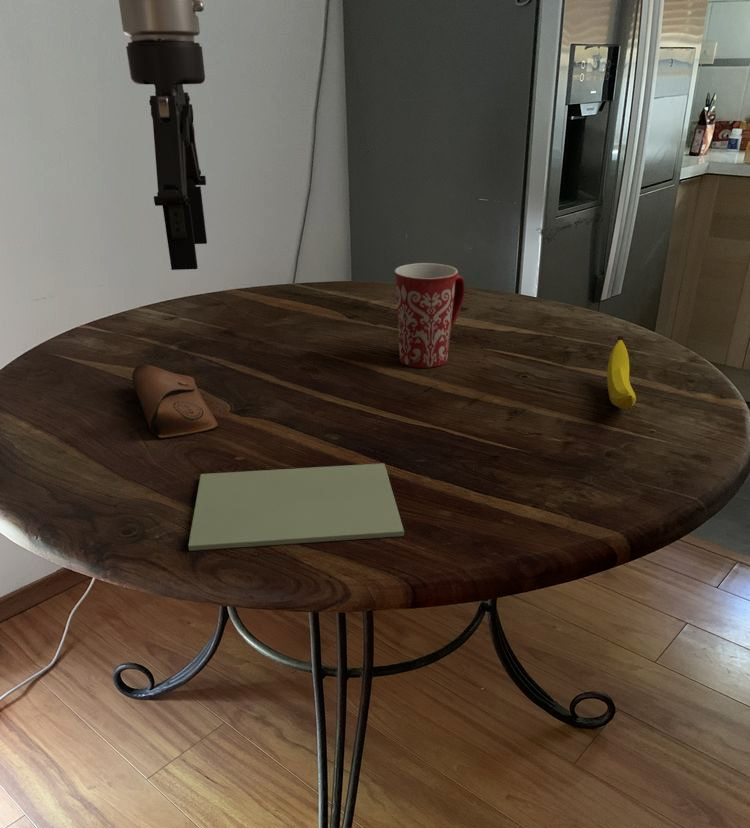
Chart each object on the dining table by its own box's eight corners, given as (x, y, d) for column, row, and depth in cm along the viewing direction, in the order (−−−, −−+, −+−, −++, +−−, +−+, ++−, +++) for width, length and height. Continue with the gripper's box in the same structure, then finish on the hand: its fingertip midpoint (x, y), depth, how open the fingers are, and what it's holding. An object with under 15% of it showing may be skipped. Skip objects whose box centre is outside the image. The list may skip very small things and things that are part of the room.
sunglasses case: (223, 424, 90) (189, 385, 86) (177, 460, 90) (141, 421, 86) (193, 377, 104) (163, 341, 100) (154, 407, 104) (122, 372, 100)
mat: (188, 551, 67) (187, 545, 67) (201, 478, 79) (200, 473, 79) (404, 536, 69) (404, 530, 69) (384, 467, 81) (384, 463, 81)
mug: (423, 375, 106) (426, 280, 99) (381, 359, 112) (381, 269, 105) (481, 355, 113) (487, 266, 107) (439, 342, 119) (442, 256, 112)
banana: (611, 433, 89) (620, 383, 86) (602, 377, 105) (609, 334, 102) (636, 435, 89) (646, 385, 85) (623, 379, 105) (631, 335, 101)
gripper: (189, 34, 64) (216, 280, 75) (209, 43, 86) (228, 234, 96) (100, 34, 63) (141, 282, 74) (143, 43, 85) (170, 235, 96)
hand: (190, 255), depth 85 cm, fingers open, 13 cm apart
